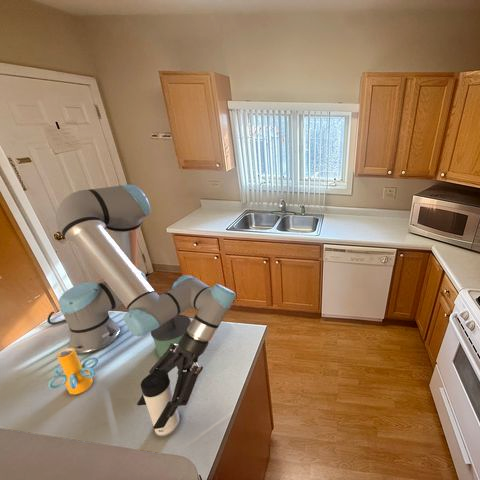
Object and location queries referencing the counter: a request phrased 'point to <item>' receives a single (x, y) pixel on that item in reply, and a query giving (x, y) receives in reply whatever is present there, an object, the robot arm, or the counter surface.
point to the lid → (172, 328)
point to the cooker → (165, 345)
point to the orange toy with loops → (73, 372)
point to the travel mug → (159, 399)
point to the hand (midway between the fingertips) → (150, 415)
